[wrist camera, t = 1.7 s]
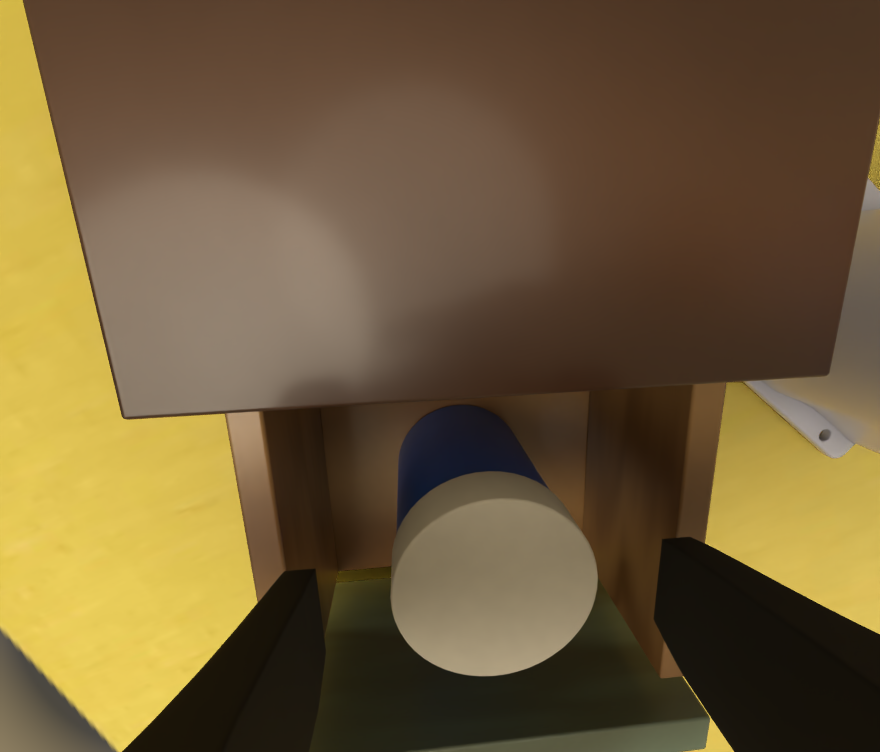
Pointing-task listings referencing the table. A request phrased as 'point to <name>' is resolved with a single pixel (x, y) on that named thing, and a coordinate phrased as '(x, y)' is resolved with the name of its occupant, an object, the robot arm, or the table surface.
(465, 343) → the cabinet
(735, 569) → the robot arm
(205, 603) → the table surface
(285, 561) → the drawer
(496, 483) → the medicine bottle
